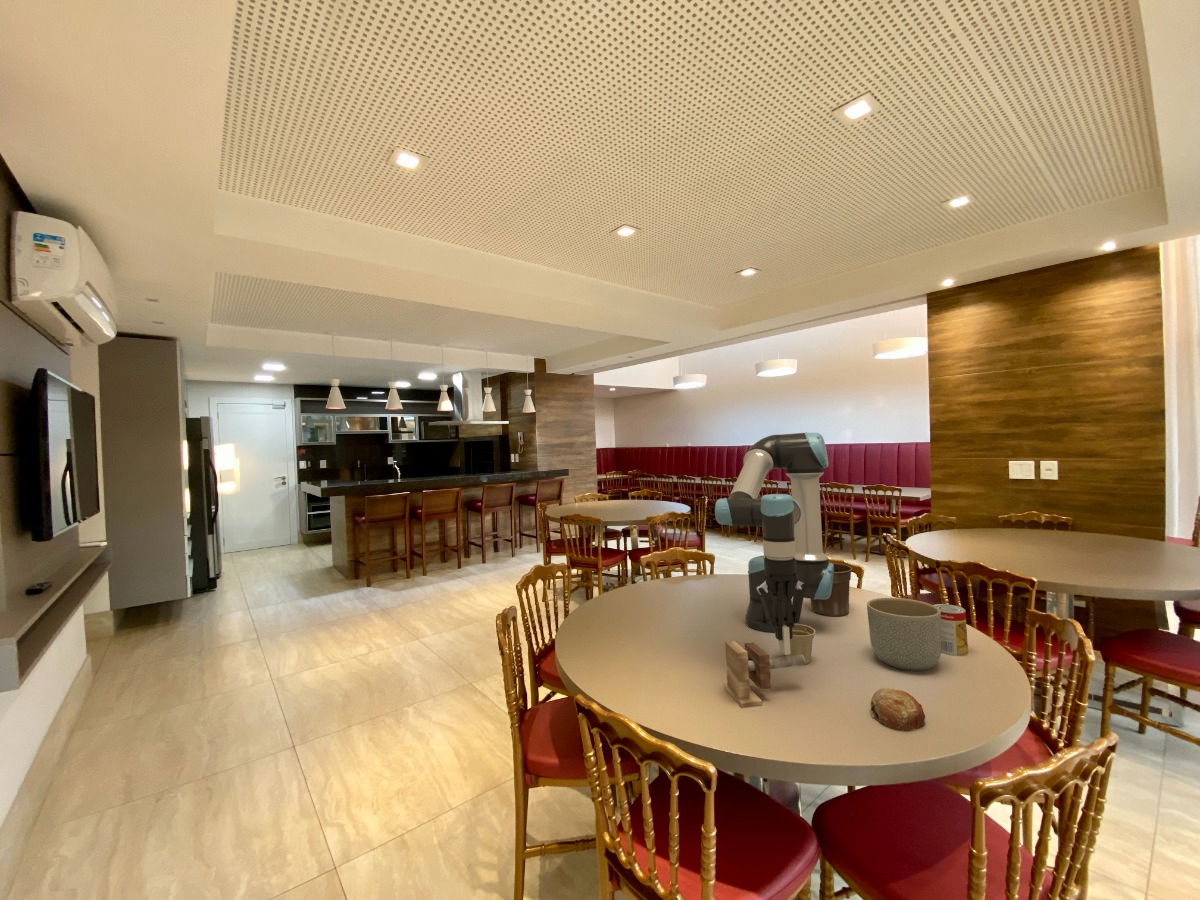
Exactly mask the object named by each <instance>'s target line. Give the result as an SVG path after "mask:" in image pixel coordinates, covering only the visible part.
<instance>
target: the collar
mask: <svg viewBox="0 0 1200 900" xmlns="http://www.w3.org/2000/svg"><path fill="white" fill-rule="evenodd" d="M744 650H746V651H747V653H748V661H751V660H754V661H755V666H756V671H751V672H748V673H749V680H751V681H752V683H754V685H756V686H757V687H758V688H759V689H760V691H763V690H772V681H771V677H772V676H771V669H770V658H771V657H770V654H769V653H768V652H767V651H765V649H763V648H762V647H760V646H759V644H757V643H755V642H753V641H752V642H744Z"/></svg>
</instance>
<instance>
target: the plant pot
mask: <svg viewBox="0 0 1200 900" xmlns="http://www.w3.org/2000/svg"><path fill="white" fill-rule="evenodd" d="M831 563H832V564H833V565H834V576H833V585H832V591H831V595H830V597H829V598H828V599H826V600H822V599H815V600H814V599H810V605H811V610H812V612H814V613H816V614H818V615H824V616H829V617H843V616H846V615H847V614H849V613H850V608H849V607H850V582H851V576H852V571H853V566H852V567H851V566H850V565H848V564H842V563H837V562H836V563H834V562H831Z"/></svg>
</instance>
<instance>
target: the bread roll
mask: <svg viewBox="0 0 1200 900" xmlns="http://www.w3.org/2000/svg"><path fill="white" fill-rule="evenodd" d="M870 712H871V714H870V715H871V718H873V719H875V721H878V722H879V723H881V724H883V725H885V726H886V727H888V728H891V729H893V730H895V731H896V730H898V731H903V730H904V732H905V731H906V732H911V730H912V731H914V729H915V730H919V729H920V727H921V728H923V725H924V724H925V719H926V715H925V711H924V708H923V706H922V704H921V703H919V702H918V700H917V699H916V698H915V697H914V696H913V695H911V694H909V692H906V691H903V690H901V689H894V688H889V687H888V688H887V687H885V688H884V687H881V688H879V689H877V690H876V691H875V692H874V694H873V696H872V697H871V700H870Z"/></svg>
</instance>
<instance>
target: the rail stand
mask: <svg viewBox="0 0 1200 900" xmlns="http://www.w3.org/2000/svg"><path fill="white" fill-rule="evenodd" d="M724 644H725V662H726V663H725V665H726V680H727V681H726V682H727V683H724V684H723V687H724V689H725V690H726V692H728V693H729V695H730V696H731V697H732V698H733V700H734V701H735V702H736V703H737V704H738V705H739V706H740V708H742V709H743V708H750V707H751V708H752V707H758V706H759V707H760V706H763V700H762V699H761V698H760V697H759V696H757V694H756V693H755V692H754V691H753V690H752V689H751V688H750V678H749V673H748V672H751V671H756V666H755V661H754V660H751V661H748V653H747V651H746V650H745V648H744V647H742V646H741V645H740V644H739V643H737V642H736V640H733V641H726V642H724ZM805 665H806V664H805V658H804V656H803V655H794V656H787V655H784V656H779V657H778V656H777V657H770V670H773V669H774V670H775V669H784V668H790V667H799V666H805Z"/></svg>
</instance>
